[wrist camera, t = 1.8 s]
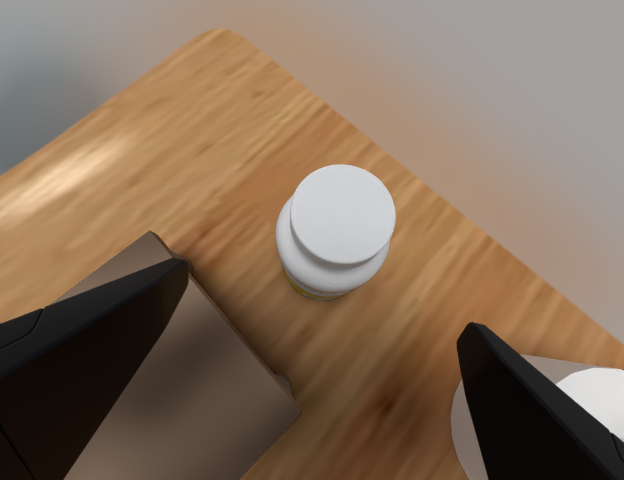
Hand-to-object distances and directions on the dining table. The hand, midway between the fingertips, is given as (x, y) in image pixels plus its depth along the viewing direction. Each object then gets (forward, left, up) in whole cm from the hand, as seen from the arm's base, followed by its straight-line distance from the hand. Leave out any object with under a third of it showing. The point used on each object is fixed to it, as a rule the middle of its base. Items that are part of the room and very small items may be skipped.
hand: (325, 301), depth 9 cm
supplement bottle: (+2, -3, -11) cm, 11 cm away
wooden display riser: (+3, +9, -10) cm, 14 cm away
